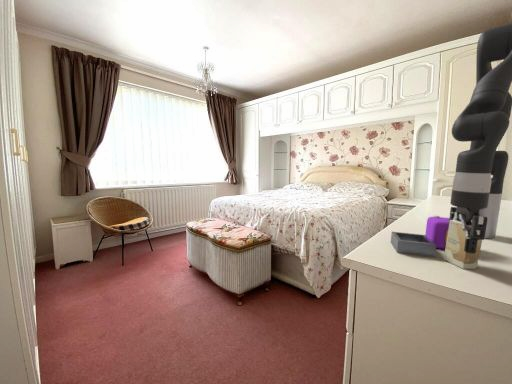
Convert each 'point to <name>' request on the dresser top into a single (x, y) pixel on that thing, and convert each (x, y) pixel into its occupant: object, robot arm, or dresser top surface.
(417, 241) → the tray
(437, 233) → the toy camera
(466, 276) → the dresser top surface
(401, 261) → the dresser top surface
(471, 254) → the skincare box
